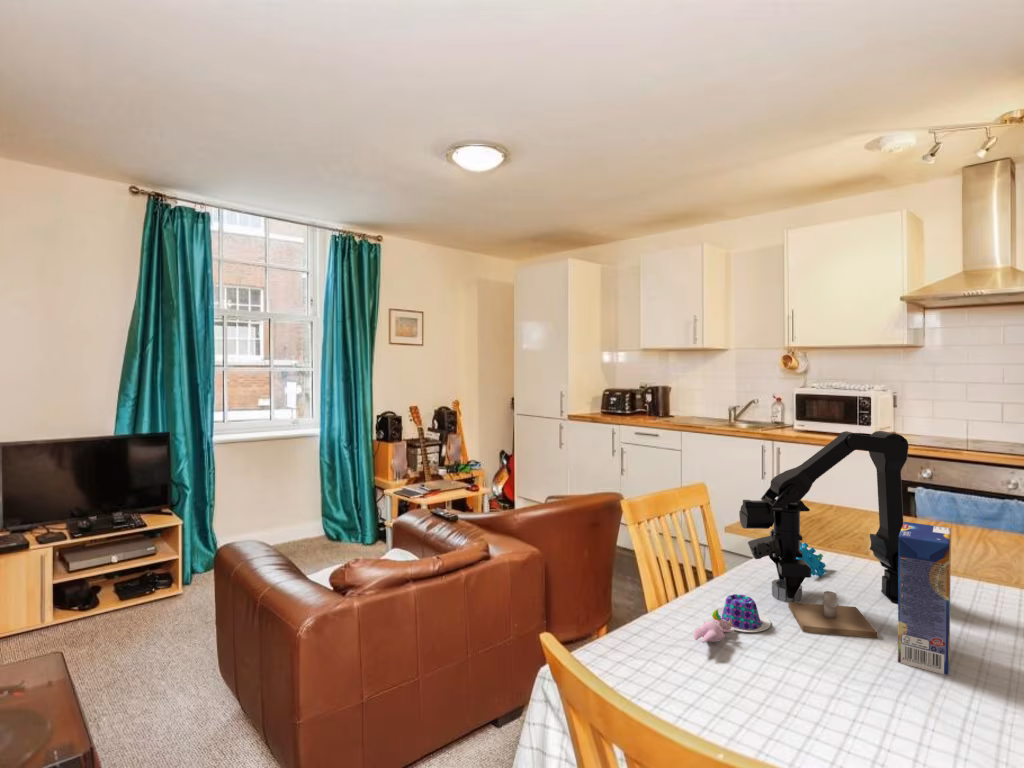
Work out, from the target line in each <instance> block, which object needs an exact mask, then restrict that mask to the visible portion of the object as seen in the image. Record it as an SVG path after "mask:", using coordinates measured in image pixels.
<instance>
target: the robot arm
mask: <svg viewBox="0 0 1024 768" xmlns="http://www.w3.org/2000/svg"><path fill="white" fill-rule="evenodd" d="M909 448H910V447H909V441H908V440H907V439H906V438H905V437H904V436H903V435H901V434H899V433H894V432H890V431H884V430H877V431H874V432H872V433H865V432H852V431H847V430H846V431H842V432H840V433H839V434H838V435H837V437H835V438H834V439H833V440H832V441H830V442H828V444H826V445H825V446H823V447H822V448H821V449H820V450H818V451H817V452H816V453H815V454H813V455H812V456H811V457H809V458H808V459H807V460H806V461H804V462H803V463H801V464H800V465H798V466H796V467H792V468H791V469H787V470H784V471H782V472H781V473H779V474H777V475H776V476H774V477H773V478H771V480H770V486H769V488H768V489H767V490H766V491H765V493H764V494H763V495H762V497H761V498H760V500H751V499H743V500H742V505H741V506H740V509H739V515H738V516H739V522H740V525H741V527H742V528H743V529H744V530H745V529H753V530H754V529H755V530H756V529H758V530H760V529H761V530H763V529H764V530H766V529H767V530H768V529H770V528H771V530H770V532H769V533H770V534H769V535H768V536H762V537H759V538H755V539H751V540H749V541H748V542H747V545H748V546H749V549H750V552H751V554H752V556H753V559H754V560H760V559H762V558H764V557H769V559H770V560H771V561H772V563H774V564H775V567H776V572H777V576H778V579H784V580H785V586H786V592H787V596H788V598H793V597H794V596H795V594H796V592H797V590H798V589H799V587H800V585H801V586H802V584H803V582H804V581H805V579H806V578H808V579H809V578H812V574H811V568H810V567H809V566H808V564H807V563H806V562H805V561H804V560H801V559H796V558H797V557H798V558H802V552H801V551H800V542H802V541H803V535H802V534H801V512H810V510H811V509H810V508H809V507H808V506H807V505H806V504H805V503H804V502H803V501H802V499H803V498H804V497H805V496H806V495H807V494H808V493H809V492H810V490H811V488H812V486H813V484H814V483H815V482H816V480H818V479H819V478H821V476H823V475H824V474H826V473H827V472H828V471H830V469H832V468H834V467H835V466H836V465H838V464H839V463H840V462H841V461H842V460H845V458H846V457H848V456H849V455H851V454H852V453H853V452H854V451H865V452H868V453H869V454H868V455H869V456H870V459H871V461H872V464H874V467H875V469H876V481H877V501H878V502H877V503H878V504H877V505H878V517H879V518H878V520H879V523H878V524H879V527H878V530H876V533H869V539H870V547H869V550H870V551H872V554H873V556H874V557H875V559H876V560H878V561H879V563H880V566H881V567H883V568H884V571H883V574H884V575H882V576H881V590H880V592H881V593H882V594H883V595H884V596H885V597H886V598H887V599H888V600H889V601H890V602H891V603H896V604H898V563H899V534H900V531H901V529H902V526H903V523H904V506H903V487H902V484H903V483H902V469H903V467H904V466H905V464H906V462H907V460H908V453H909ZM772 527H773V528H772Z"/></svg>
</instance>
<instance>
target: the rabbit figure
mask: <svg viewBox="0 0 1024 768" xmlns="http://www.w3.org/2000/svg"><path fill="white" fill-rule="evenodd" d="M712 613H713V615H712V614H711V618H712V617H713V618H714V619H713V618H712V619H713V620H712V621H703V623H702V625H701V626H700V627H698V628H695V629H694V631H693V638H694V640H695V641H698V640H699V639H700V638H702V641H701V642H702V643H703V644H704V643H706V642H710V643H713V642H718V641H722V640H724V639H725V637H726V635H725V633H733V632H734V631H735V630H733V629H731V628H735V627H734V626H733V624H732V619H731V620H729V621H726V620H724V619H721V618H722V615H719V614H718V610H716V609H715V610H714V611H712ZM731 626H733V627H731Z"/></svg>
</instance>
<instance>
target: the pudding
mask: <svg viewBox="0 0 1024 768" xmlns="http://www.w3.org/2000/svg"><path fill="white" fill-rule="evenodd" d="M715 610H718V614H719V615H720V616H721V619H724V620H726V621H729V620H731V619H732V624H733V626H734V627H733V626H731V627H732V628H731V629H733V630H734V631H739V632H744V633H756V632H757V633H758V632H762V631H766V630H767V629H769V628H770V627H771V621H770V619H769V618H768V617H767V616H766V615H764V614H762V613H760V612H759V611H758V607H757V604H756V602H755V600H754V599H753V598H752V596H747V595H745V594H736V593H734V594H730V595H727V597H726V599H725V601H724V607H719V608H717V609H715ZM712 615H713V612H712V613H711V618H712V619H713V620H714V618H713V617H712ZM761 624H762V625H761ZM759 626H760V628H759Z"/></svg>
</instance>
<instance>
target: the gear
mask: <svg viewBox="0 0 1024 768" xmlns="http://www.w3.org/2000/svg"><path fill="white" fill-rule="evenodd" d="M808 547H809V544H808V543H806V542H803V543H802V541H800V551H801V552H802V558H798V557H796V559H801V560H804V561H805V562H806V563H807V564H808V566H809V567H810V568H811V576H813V577H814V576H815V575H817V577H820V578H821V577H823V576H824V574H826V573H827V570H826V569H825V568H826V567H827V566H826V565H827V564H826V563H825V562H823V561H822V560H823V557H824V555H823V554H822V553H818V554H815V553H816V552H817V551H816V549H815V548H814V547H810V548H809V549H808Z"/></svg>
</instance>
